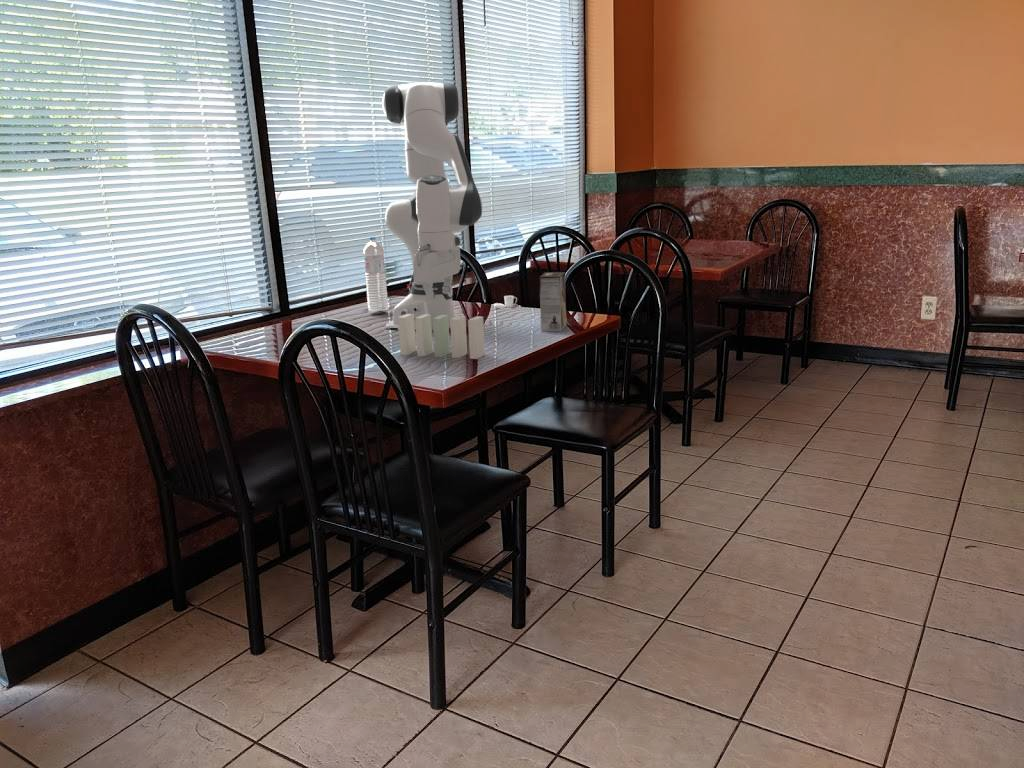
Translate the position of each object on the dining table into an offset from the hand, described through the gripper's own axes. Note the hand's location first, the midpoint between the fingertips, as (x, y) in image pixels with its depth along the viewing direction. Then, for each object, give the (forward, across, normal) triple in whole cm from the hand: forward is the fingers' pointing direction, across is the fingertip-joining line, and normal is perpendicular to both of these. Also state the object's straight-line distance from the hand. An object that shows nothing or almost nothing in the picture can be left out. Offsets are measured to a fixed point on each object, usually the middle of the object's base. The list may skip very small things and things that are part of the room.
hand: (438, 296), depth 213 cm
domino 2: (+15, -1, +5) cm, 16 cm away
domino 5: (+15, -1, -10) cm, 18 cm away
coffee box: (+16, +37, -18) cm, 45 cm away
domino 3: (+15, -1, 0) cm, 15 cm away
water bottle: (+17, +54, +51) cm, 76 cm away
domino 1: (+15, -1, +10) cm, 18 cm away
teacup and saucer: (+17, +70, +10) cm, 72 cm away
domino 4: (+15, -1, -5) cm, 16 cm away
